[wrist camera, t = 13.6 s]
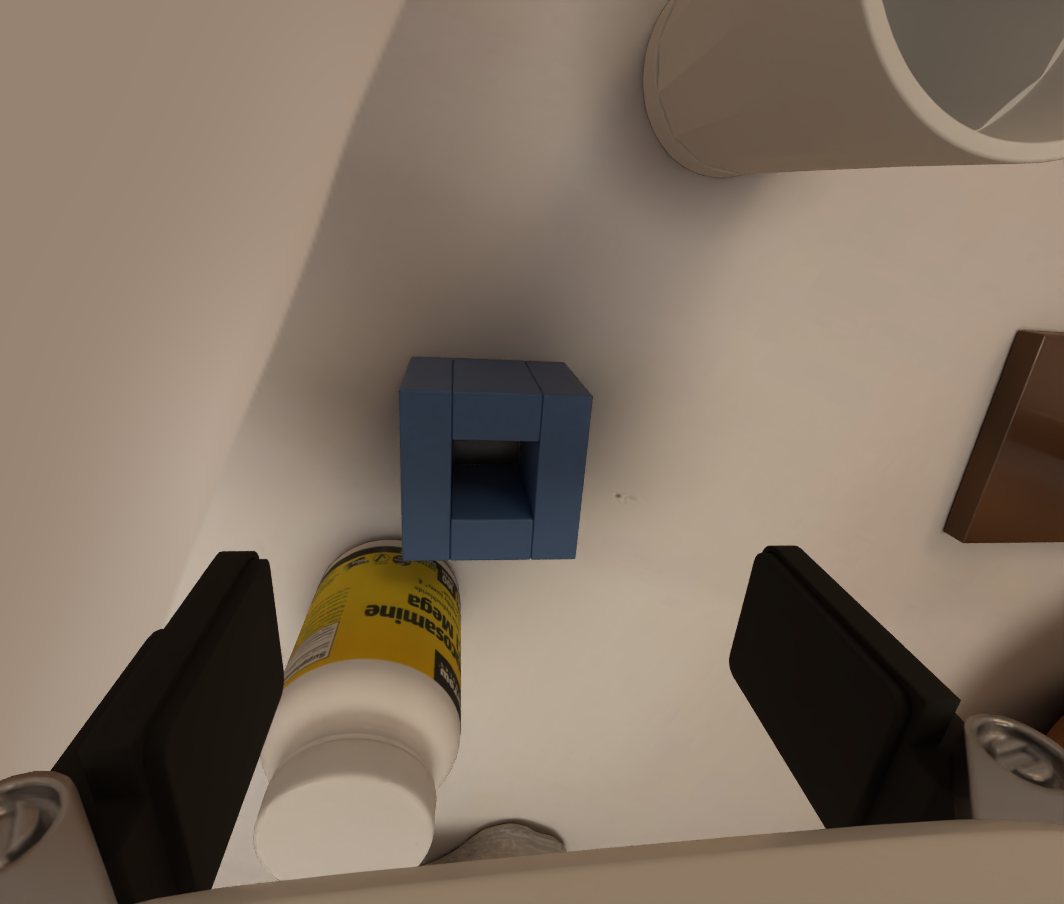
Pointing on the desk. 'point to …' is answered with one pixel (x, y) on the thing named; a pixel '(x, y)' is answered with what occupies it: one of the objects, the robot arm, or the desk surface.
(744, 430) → the desk surface
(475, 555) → the collar block
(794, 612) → the robot arm
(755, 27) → the cup
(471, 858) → the decorative stone
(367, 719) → the pill bottle
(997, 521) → the dowel stand
